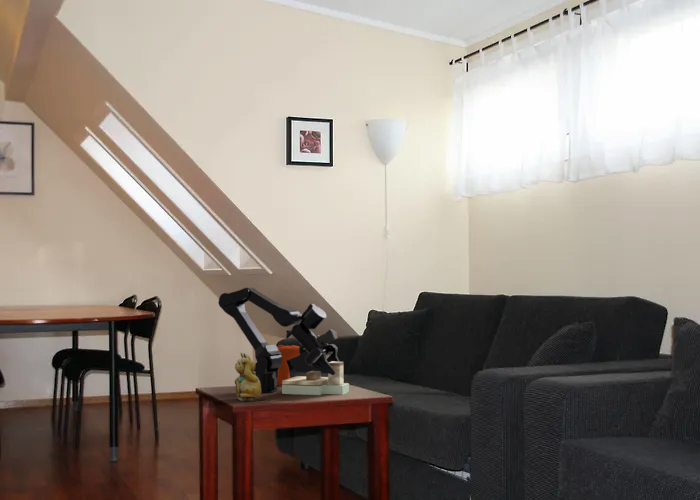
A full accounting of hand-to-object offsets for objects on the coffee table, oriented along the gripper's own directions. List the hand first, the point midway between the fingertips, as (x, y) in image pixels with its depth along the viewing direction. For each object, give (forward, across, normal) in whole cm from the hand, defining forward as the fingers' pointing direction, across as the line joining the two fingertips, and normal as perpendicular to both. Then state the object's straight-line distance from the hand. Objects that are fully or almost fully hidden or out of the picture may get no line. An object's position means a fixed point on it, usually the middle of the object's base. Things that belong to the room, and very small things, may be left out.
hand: (338, 372), depth 281 cm
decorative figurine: (-13, -16, +23) cm, 31 cm away
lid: (-5, 0, +10) cm, 11 cm away
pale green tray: (0, 0, +11) cm, 11 cm away
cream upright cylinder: (+4, 0, +5) cm, 7 cm away
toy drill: (-11, +23, +22) cm, 34 cm away
